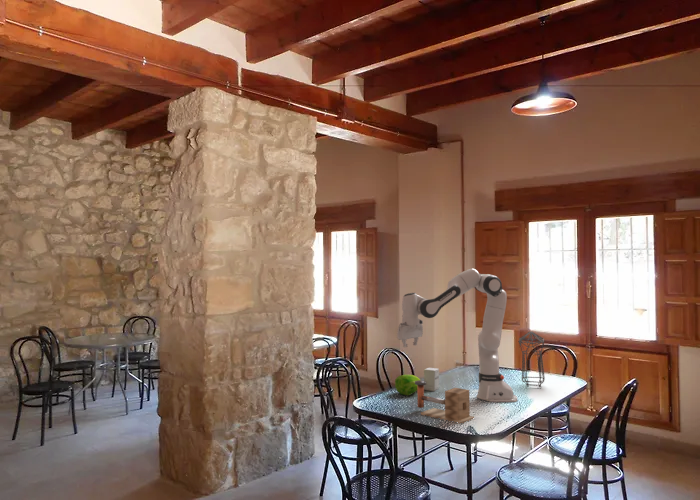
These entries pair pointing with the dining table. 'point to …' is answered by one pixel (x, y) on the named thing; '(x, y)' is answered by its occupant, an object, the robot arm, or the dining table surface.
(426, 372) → the supplement box
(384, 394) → the dining table surface
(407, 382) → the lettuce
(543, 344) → the geometric lantern
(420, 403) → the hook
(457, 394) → the light wood block structure
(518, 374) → the dining table surface
